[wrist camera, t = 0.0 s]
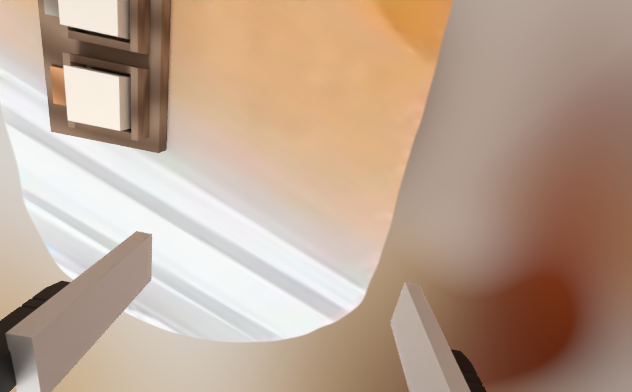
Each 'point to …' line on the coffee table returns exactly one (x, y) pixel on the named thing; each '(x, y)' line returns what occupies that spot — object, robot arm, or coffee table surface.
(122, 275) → the robot arm
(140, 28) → the button board
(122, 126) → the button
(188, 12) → the coffee table surface
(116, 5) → the button middle
